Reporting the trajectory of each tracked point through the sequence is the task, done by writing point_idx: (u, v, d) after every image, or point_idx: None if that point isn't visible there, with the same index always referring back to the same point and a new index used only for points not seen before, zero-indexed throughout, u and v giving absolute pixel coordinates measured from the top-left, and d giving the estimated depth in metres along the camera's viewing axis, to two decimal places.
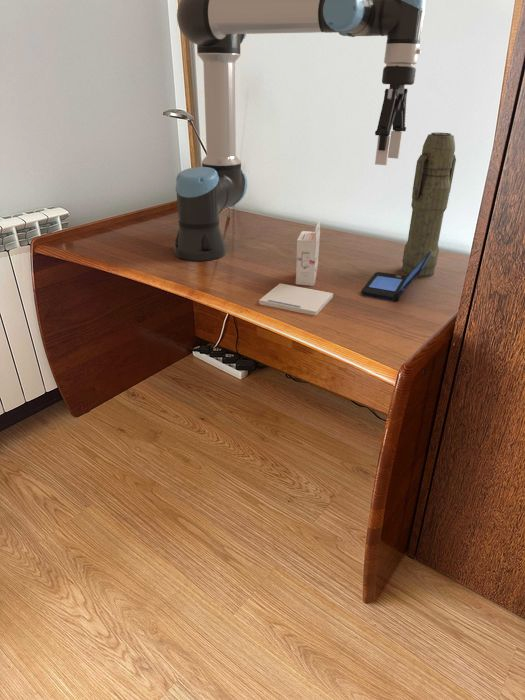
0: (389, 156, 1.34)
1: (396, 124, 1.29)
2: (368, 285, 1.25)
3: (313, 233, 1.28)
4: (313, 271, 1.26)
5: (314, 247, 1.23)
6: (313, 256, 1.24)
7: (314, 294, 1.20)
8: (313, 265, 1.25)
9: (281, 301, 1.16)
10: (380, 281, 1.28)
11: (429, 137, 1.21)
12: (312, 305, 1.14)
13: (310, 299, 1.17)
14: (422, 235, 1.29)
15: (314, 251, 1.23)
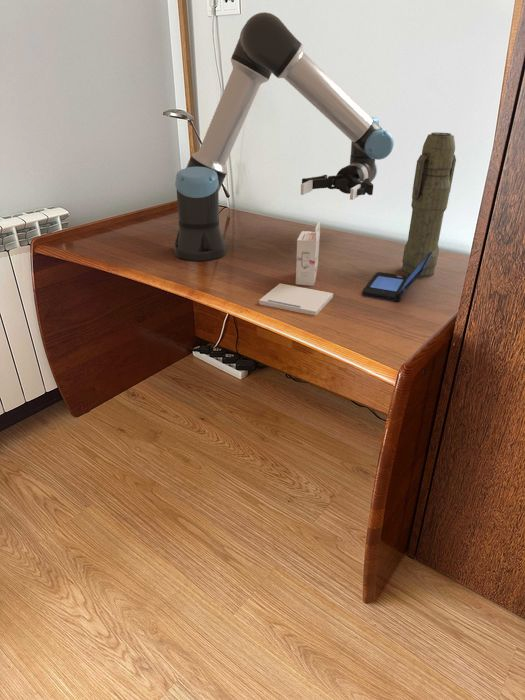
0: (304, 185, 1.33)
1: (315, 183, 1.39)
2: (369, 285, 1.25)
3: (313, 233, 1.28)
4: (313, 271, 1.26)
5: (314, 247, 1.23)
6: (313, 256, 1.24)
7: (314, 294, 1.20)
8: (313, 265, 1.25)
9: (281, 301, 1.16)
10: (381, 281, 1.27)
11: (429, 137, 1.21)
12: (312, 305, 1.14)
13: (310, 299, 1.17)
14: (422, 235, 1.29)
15: (314, 251, 1.23)
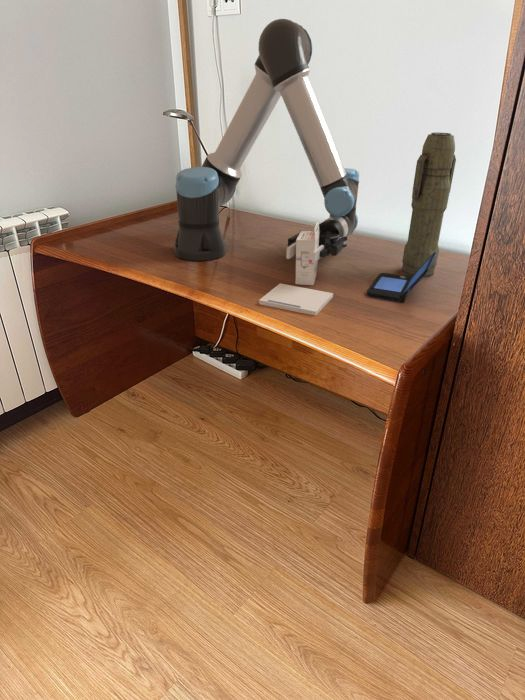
0: (289, 249, 1.24)
1: None
2: (373, 286, 1.25)
3: (312, 233, 1.28)
4: (313, 271, 1.26)
5: (313, 247, 1.23)
6: None
7: (314, 294, 1.20)
8: (312, 265, 1.25)
9: (281, 301, 1.16)
10: (385, 282, 1.27)
11: (429, 137, 1.21)
12: (312, 305, 1.14)
13: (310, 299, 1.17)
14: (422, 235, 1.29)
15: None
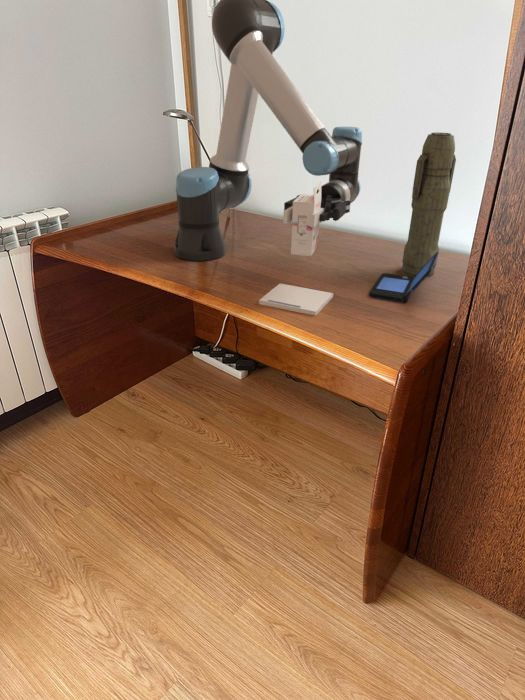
0: (287, 212, 1.08)
1: None
2: (376, 286, 1.24)
3: (313, 196, 1.12)
4: (311, 239, 1.10)
5: (312, 210, 1.07)
6: None
7: (314, 294, 1.20)
8: (311, 231, 1.09)
9: (281, 301, 1.16)
10: (387, 282, 1.27)
11: (429, 137, 1.21)
12: (312, 305, 1.14)
13: (310, 299, 1.17)
14: (422, 235, 1.29)
15: None
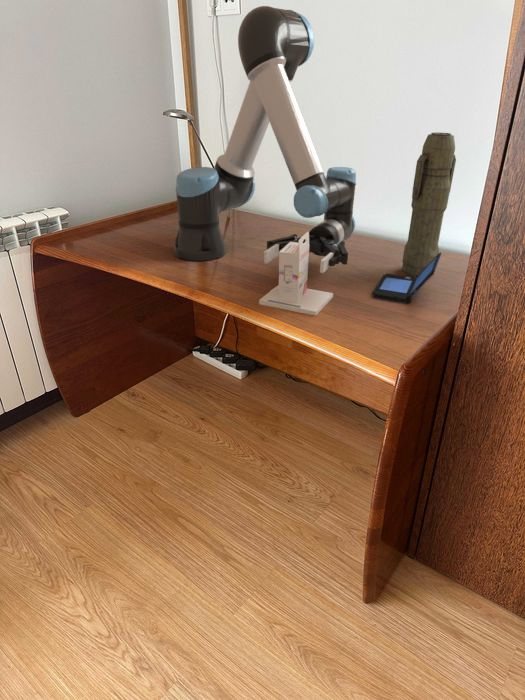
0: (267, 253, 1.14)
1: (282, 247, 1.20)
2: (379, 287, 1.24)
3: None
4: (297, 287, 1.13)
5: (297, 260, 1.10)
6: (296, 270, 1.12)
7: (314, 294, 1.20)
8: (296, 280, 1.13)
9: (281, 301, 1.16)
10: (390, 283, 1.27)
11: (429, 137, 1.21)
12: (312, 305, 1.14)
13: (310, 299, 1.17)
14: (422, 235, 1.29)
15: (297, 265, 1.11)
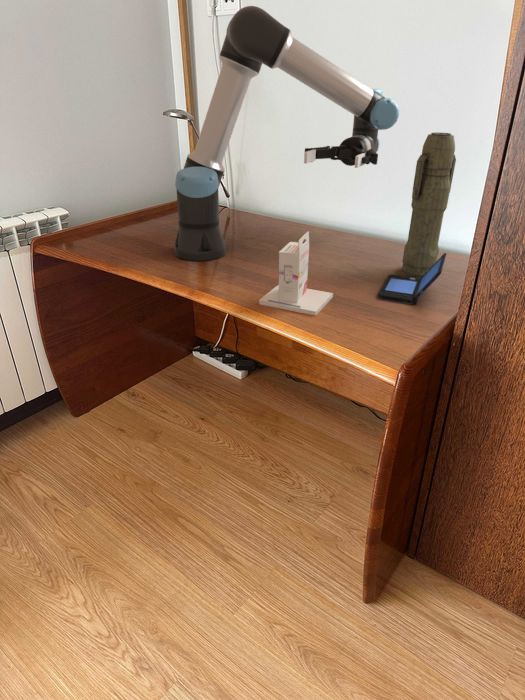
0: (307, 154, 1.30)
1: (319, 153, 1.37)
2: (384, 288, 1.23)
3: None
4: (297, 287, 1.13)
5: (297, 260, 1.10)
6: (296, 270, 1.12)
7: (314, 294, 1.20)
8: (296, 280, 1.13)
9: (281, 301, 1.16)
10: (395, 284, 1.26)
11: (429, 137, 1.21)
12: (312, 305, 1.14)
13: (310, 299, 1.17)
14: (422, 235, 1.29)
15: (297, 265, 1.11)
